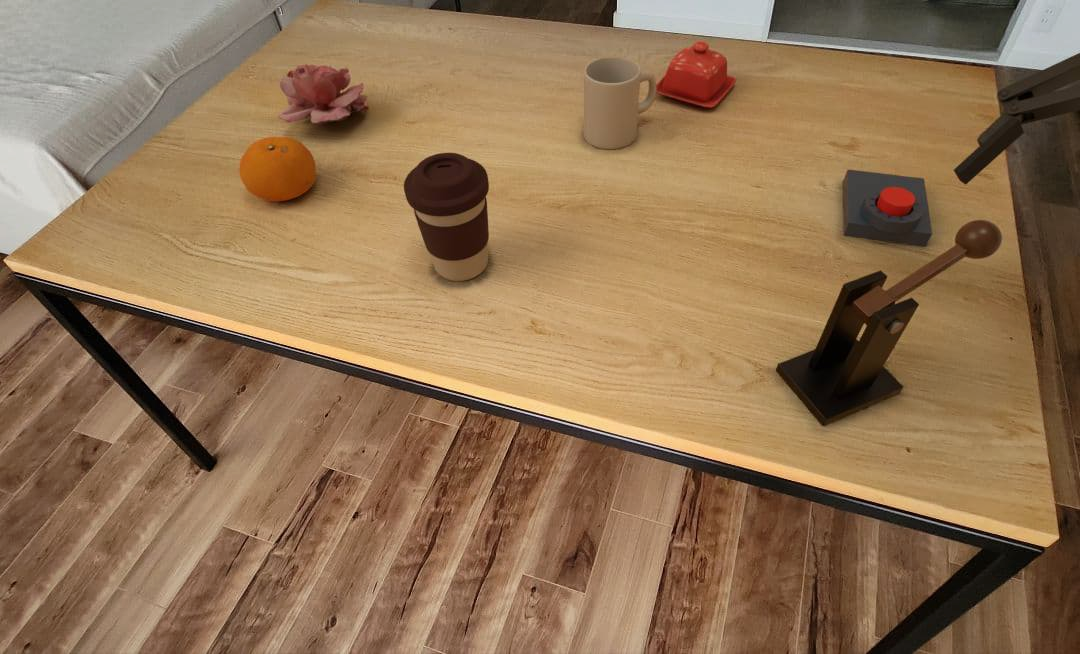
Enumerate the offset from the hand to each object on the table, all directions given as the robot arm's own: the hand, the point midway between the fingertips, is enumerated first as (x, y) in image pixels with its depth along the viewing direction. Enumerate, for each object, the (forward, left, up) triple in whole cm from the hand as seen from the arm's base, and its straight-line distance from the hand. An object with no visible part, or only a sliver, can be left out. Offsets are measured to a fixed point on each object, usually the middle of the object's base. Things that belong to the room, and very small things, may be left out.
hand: (1017, 217), depth 59 cm
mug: (+34, +44, -18) cm, 59 cm away
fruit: (+8, +90, -18) cm, 92 cm away
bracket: (-9, +11, -18) cm, 23 cm away
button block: (+22, +5, -18) cm, 29 cm away
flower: (+27, +93, -18) cm, 98 cm away
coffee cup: (-1, +58, -18) cm, 61 cm away
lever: (-5, +6, -5) cm, 9 cm away
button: (+19, +5, -14) cm, 24 cm away
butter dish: (+49, +34, -18) cm, 62 cm away
